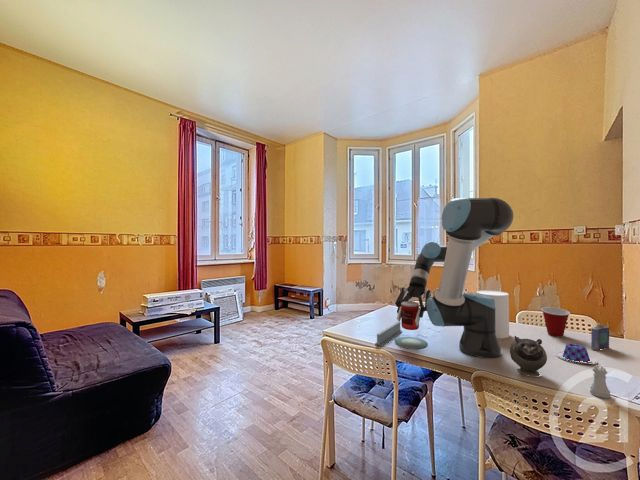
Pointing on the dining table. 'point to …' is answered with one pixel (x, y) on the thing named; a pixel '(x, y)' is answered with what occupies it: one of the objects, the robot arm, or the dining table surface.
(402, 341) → the resting mat
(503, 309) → the canister
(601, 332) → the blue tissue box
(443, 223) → the robot arm
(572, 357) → the checkered hat
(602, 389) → the rook chess piece
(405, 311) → the canned food
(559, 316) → the plastic cup
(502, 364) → the dining table surface
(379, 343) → the plastic divider
